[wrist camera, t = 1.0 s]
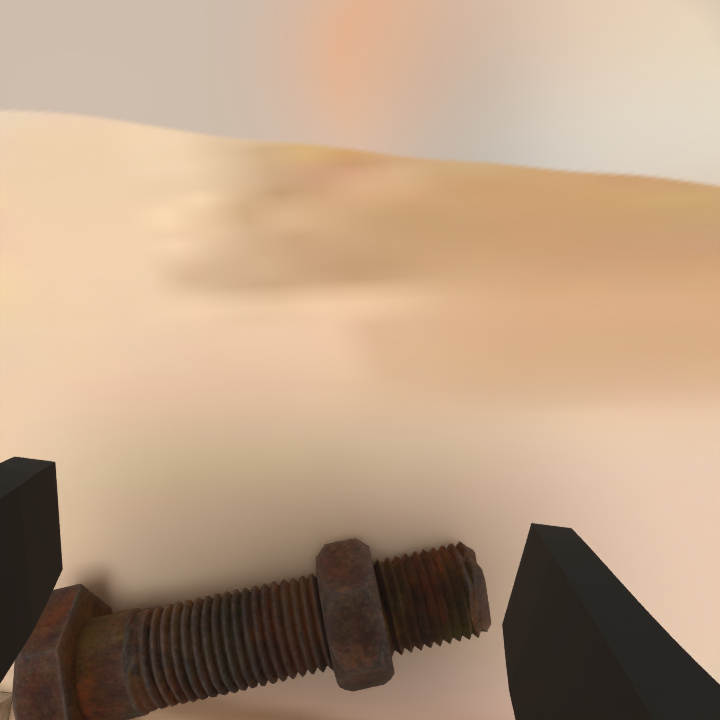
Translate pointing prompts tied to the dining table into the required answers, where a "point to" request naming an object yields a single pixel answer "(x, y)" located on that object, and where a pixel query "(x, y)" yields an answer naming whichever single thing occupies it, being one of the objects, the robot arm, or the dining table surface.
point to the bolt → (247, 635)
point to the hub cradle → (5, 705)
